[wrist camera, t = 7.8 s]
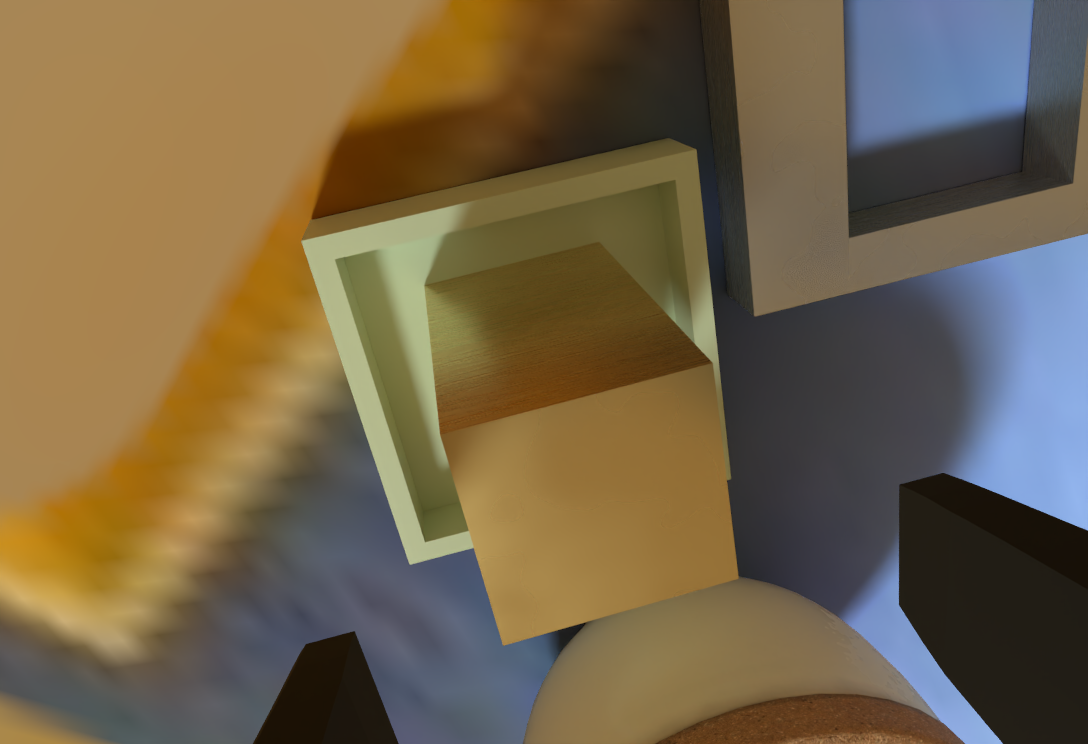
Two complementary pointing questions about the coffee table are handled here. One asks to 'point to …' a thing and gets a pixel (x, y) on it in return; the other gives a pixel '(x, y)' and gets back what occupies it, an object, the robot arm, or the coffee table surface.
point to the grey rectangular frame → (821, 160)
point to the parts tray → (479, 244)
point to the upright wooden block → (578, 440)
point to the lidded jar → (728, 677)
